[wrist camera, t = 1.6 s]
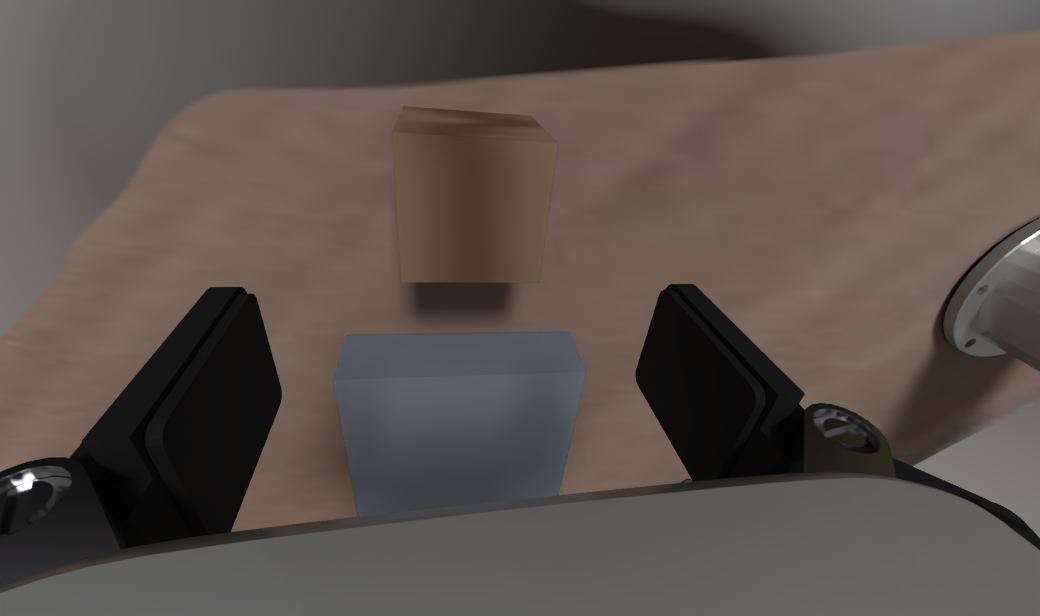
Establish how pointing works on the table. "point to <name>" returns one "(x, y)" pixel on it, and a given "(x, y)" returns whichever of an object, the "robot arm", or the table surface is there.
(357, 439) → the pedestal
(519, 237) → the walnut cube
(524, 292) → the table surface
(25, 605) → the robot arm
